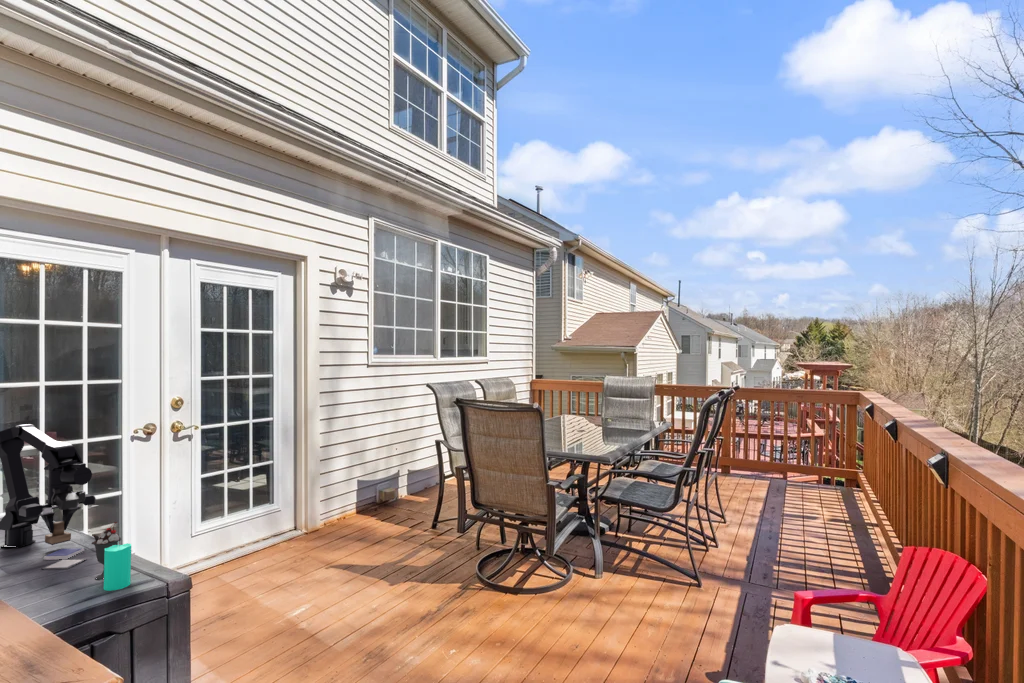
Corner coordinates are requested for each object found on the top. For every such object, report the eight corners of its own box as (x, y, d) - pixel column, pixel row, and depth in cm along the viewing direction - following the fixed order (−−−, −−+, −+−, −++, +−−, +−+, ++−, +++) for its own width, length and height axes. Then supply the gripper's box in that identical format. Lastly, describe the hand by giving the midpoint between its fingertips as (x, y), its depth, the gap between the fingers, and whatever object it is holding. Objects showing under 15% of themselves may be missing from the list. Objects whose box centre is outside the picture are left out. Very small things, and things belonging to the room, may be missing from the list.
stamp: (44, 542, 174) (45, 523, 174) (63, 538, 178) (64, 519, 178) (51, 545, 171) (52, 525, 172) (70, 540, 176) (71, 521, 176)
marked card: (41, 569, 157) (41, 568, 157) (62, 560, 165) (62, 559, 165) (67, 569, 157) (67, 568, 157) (86, 559, 165) (86, 558, 165)
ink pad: (43, 559, 165) (43, 555, 165) (62, 551, 172) (62, 548, 172) (66, 559, 165) (66, 555, 165) (84, 551, 172) (84, 547, 172)
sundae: (126, 573, 154) (127, 520, 154) (101, 582, 147) (103, 527, 148) (110, 570, 156) (111, 518, 156) (85, 579, 149) (86, 525, 150)
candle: (136, 582, 147) (137, 537, 148) (118, 591, 141) (119, 545, 142) (116, 581, 148) (117, 537, 148) (97, 590, 142) (98, 544, 142)
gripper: (34, 492, 163) (33, 543, 163) (104, 480, 180) (103, 527, 179) (18, 488, 169) (17, 538, 168) (88, 477, 185) (86, 522, 184)
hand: (58, 531), depth 175 cm, fingers closed on stamp, 3 cm apart
